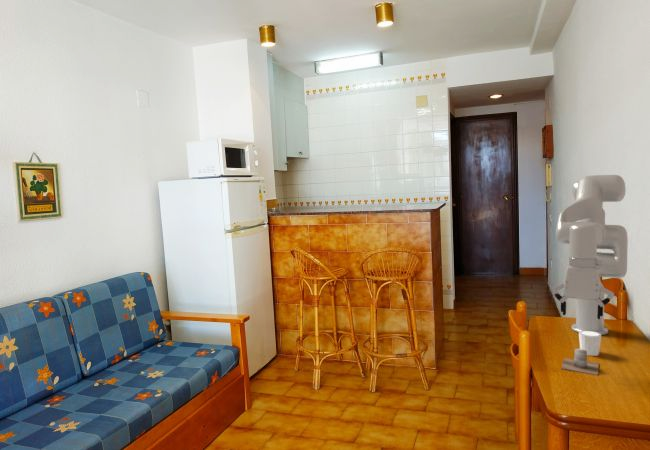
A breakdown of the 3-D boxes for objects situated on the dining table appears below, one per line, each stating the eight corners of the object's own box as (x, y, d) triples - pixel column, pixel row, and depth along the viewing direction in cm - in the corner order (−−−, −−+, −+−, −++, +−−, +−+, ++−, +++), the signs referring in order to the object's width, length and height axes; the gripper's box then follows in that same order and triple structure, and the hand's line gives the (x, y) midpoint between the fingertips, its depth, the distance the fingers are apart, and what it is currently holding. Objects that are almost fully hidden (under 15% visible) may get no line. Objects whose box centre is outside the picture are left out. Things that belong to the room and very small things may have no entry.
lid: (564, 360, 154) (564, 343, 153) (598, 365, 149) (599, 348, 148) (561, 370, 146) (561, 353, 145) (597, 376, 140) (598, 358, 140)
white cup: (604, 357, 155) (604, 336, 154) (582, 355, 156) (582, 336, 155) (596, 349, 161) (596, 330, 161) (575, 348, 163) (575, 329, 162)
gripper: (614, 263, 143) (613, 316, 144) (553, 259, 152) (552, 310, 153) (614, 266, 136) (613, 322, 138) (550, 263, 146) (549, 315, 147)
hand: (581, 316), depth 145 cm, fingers open, 9 cm apart
